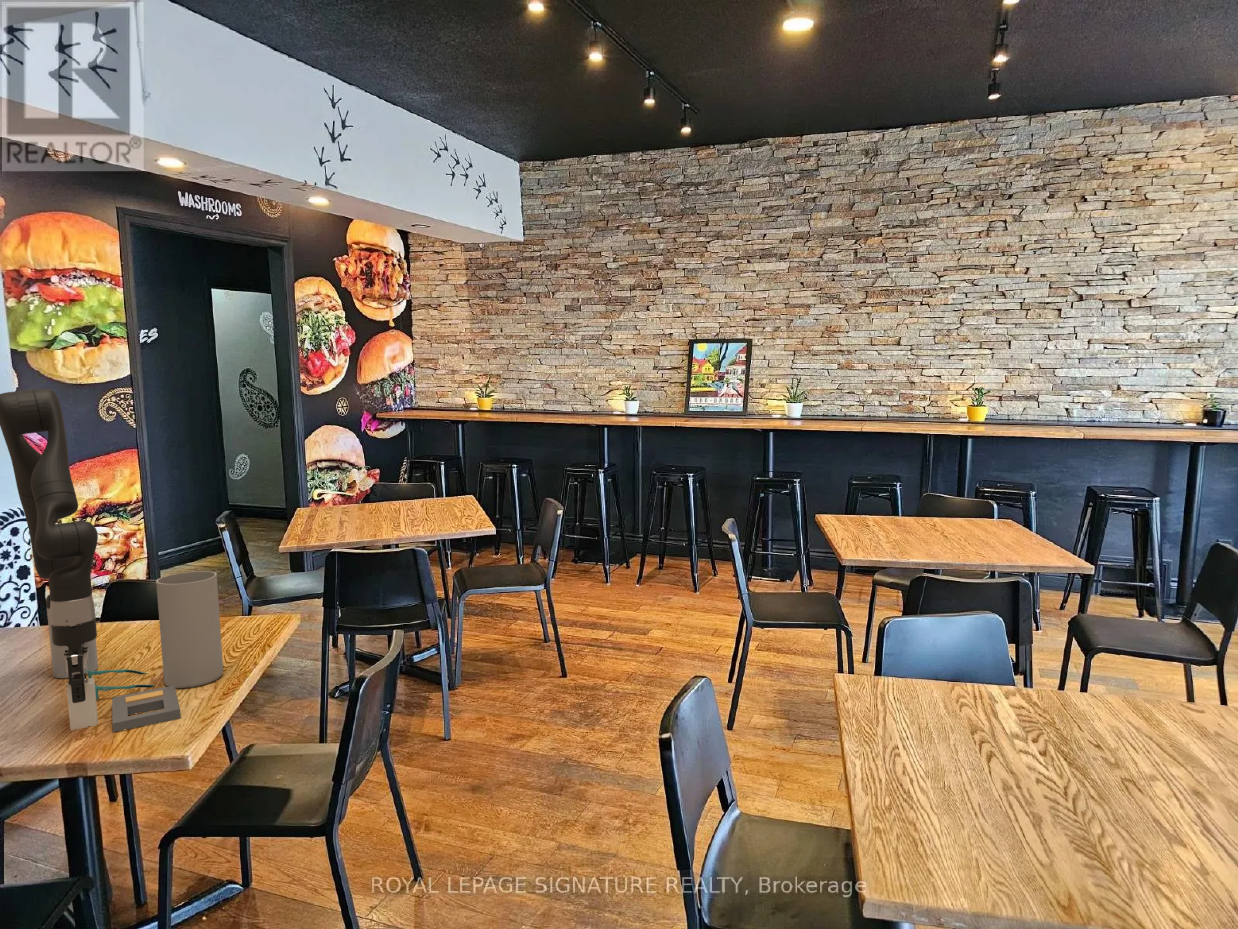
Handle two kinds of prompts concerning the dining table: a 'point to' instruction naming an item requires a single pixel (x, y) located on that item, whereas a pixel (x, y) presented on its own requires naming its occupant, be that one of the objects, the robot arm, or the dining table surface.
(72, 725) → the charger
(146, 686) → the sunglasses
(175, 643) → the cylinder vase
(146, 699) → the plate
